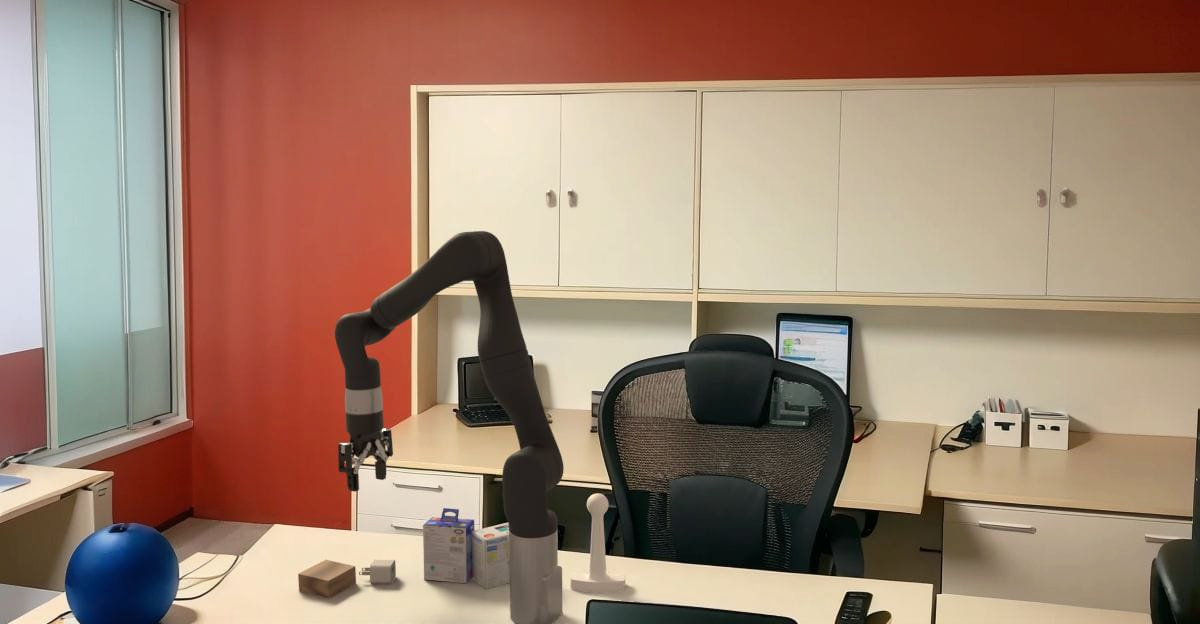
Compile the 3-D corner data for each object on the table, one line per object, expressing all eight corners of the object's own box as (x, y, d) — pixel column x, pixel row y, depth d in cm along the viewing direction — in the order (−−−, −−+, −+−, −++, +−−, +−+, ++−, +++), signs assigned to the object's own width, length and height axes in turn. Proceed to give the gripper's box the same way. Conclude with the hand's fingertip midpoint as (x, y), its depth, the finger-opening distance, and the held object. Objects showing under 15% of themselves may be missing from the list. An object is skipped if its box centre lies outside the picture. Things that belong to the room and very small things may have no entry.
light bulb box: (515, 567, 199) (514, 519, 198) (530, 577, 194) (530, 528, 192) (470, 579, 193) (469, 529, 192) (485, 590, 188) (484, 539, 186)
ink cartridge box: (476, 573, 196) (475, 508, 194) (468, 584, 190) (466, 517, 189) (433, 569, 198) (431, 505, 196) (423, 580, 192) (421, 514, 191)
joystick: (569, 591, 187) (569, 497, 184) (573, 576, 194) (573, 485, 192) (624, 593, 186) (624, 498, 183) (626, 577, 193) (626, 486, 191)
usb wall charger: (390, 584, 190) (390, 566, 190) (357, 584, 191) (357, 566, 190) (395, 576, 194) (395, 558, 194) (363, 576, 195) (362, 558, 194)
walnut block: (356, 584, 191) (355, 566, 191) (329, 599, 184) (328, 580, 184) (326, 577, 195) (325, 559, 194) (299, 592, 188) (298, 573, 187)
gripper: (355, 417, 180) (359, 497, 182) (400, 402, 193) (403, 477, 195) (325, 414, 184) (329, 492, 186) (372, 399, 196) (375, 473, 198)
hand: (367, 484), depth 190 cm, fingers open, 8 cm apart
